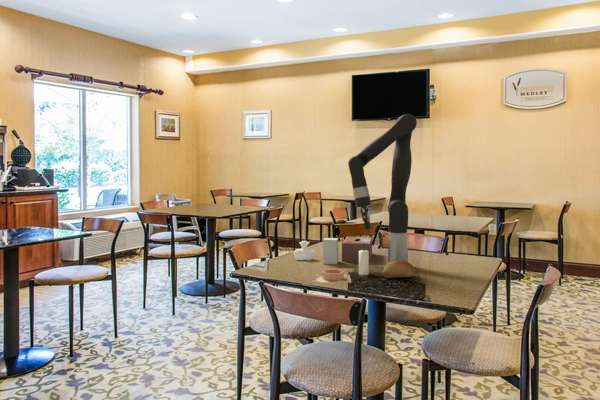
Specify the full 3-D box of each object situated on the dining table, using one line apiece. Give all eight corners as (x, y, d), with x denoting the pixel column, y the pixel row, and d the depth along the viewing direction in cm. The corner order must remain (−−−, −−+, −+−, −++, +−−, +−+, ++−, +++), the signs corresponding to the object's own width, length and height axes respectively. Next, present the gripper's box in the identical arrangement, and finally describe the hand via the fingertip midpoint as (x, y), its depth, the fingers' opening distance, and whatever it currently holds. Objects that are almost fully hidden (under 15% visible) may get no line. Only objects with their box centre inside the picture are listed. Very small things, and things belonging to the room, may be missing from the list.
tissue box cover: (369, 262, 252) (369, 243, 251) (341, 262, 255) (341, 243, 254) (372, 254, 277) (372, 236, 276) (346, 253, 280) (346, 236, 279)
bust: (315, 263, 262) (314, 245, 268) (316, 256, 255) (315, 238, 262) (293, 263, 261) (293, 245, 267) (293, 257, 255) (293, 238, 261)
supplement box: (337, 264, 247) (337, 240, 246) (322, 264, 249) (322, 239, 248) (338, 261, 254) (338, 237, 254) (324, 261, 256) (324, 237, 255)
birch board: (349, 277, 217) (349, 274, 217) (351, 286, 202) (351, 282, 202) (316, 277, 218) (316, 274, 218) (315, 285, 203) (315, 282, 203)
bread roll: (419, 279, 214) (419, 261, 213) (386, 280, 212) (386, 262, 211) (411, 274, 223) (411, 257, 222) (380, 275, 221) (380, 258, 221)
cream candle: (368, 276, 220) (368, 248, 219) (369, 278, 216) (369, 249, 215) (358, 276, 220) (358, 248, 219) (359, 278, 216) (359, 249, 215)
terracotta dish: (343, 275, 215) (343, 269, 214) (344, 280, 205) (344, 273, 205) (322, 275, 215) (322, 269, 215) (322, 280, 206) (322, 273, 205)
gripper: (368, 194, 230) (375, 228, 229) (370, 195, 244) (376, 227, 243) (352, 197, 231) (359, 231, 230) (355, 198, 245) (361, 229, 244)
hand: (368, 229), depth 236 cm, fingers open, 8 cm apart
